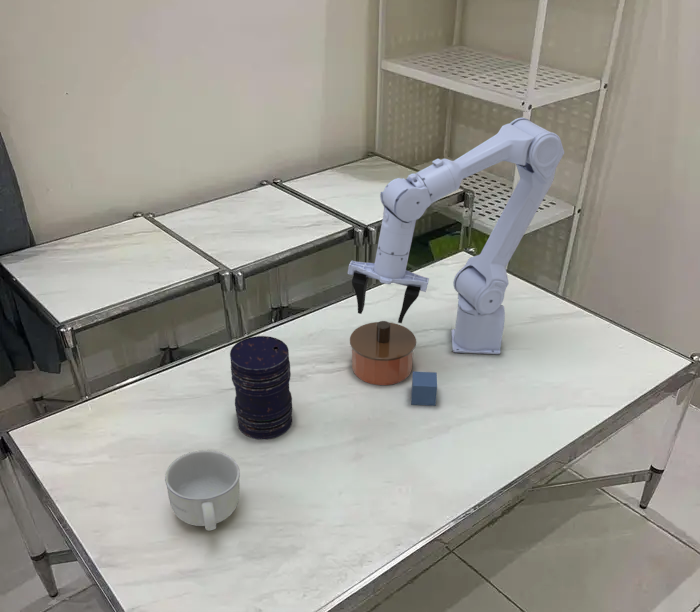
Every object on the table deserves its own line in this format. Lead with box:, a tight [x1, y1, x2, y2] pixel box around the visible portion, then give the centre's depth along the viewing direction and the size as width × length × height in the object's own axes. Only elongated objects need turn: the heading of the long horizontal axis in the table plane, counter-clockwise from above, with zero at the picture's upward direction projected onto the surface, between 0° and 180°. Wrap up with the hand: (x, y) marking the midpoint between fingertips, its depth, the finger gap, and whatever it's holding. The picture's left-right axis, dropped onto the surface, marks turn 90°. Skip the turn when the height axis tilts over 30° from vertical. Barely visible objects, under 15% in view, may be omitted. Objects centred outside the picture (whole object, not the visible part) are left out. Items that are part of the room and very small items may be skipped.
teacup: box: [164, 449, 241, 531], centre depth 107 cm, size 14×11×8 cm
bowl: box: [351, 348, 414, 386], centre depth 139 cm, size 12×12×6 cm
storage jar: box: [229, 335, 293, 441], centre depth 123 cm, size 10×10×15 cm
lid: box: [349, 320, 417, 361], centre depth 136 cm, size 13×13×4 cm
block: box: [410, 370, 438, 407], centre depth 132 cm, size 4×4×4 cm
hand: (380, 316), depth 135 cm, fingers open, 7 cm apart
